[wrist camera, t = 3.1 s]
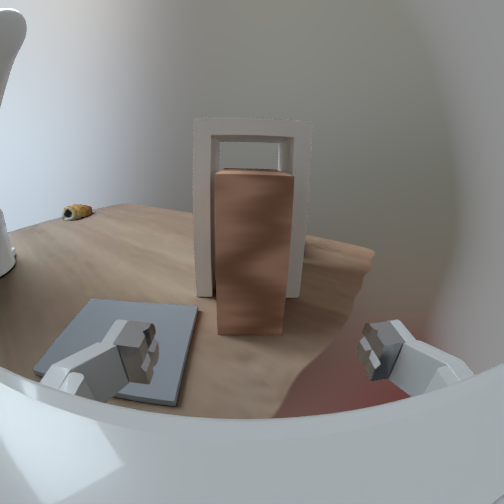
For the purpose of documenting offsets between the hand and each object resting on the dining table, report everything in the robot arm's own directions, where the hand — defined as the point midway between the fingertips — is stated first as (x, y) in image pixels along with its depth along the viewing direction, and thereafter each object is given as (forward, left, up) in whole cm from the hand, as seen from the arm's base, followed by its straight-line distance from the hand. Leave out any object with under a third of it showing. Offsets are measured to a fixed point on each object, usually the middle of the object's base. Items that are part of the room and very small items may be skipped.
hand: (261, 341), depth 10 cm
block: (0, +14, -7) cm, 16 cm away
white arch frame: (0, +20, -7) cm, 21 cm away
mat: (-10, +7, -7) cm, 14 cm away
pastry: (-45, +54, -7) cm, 71 cm away
